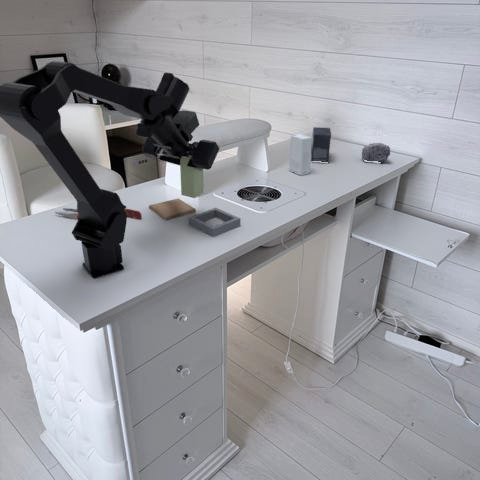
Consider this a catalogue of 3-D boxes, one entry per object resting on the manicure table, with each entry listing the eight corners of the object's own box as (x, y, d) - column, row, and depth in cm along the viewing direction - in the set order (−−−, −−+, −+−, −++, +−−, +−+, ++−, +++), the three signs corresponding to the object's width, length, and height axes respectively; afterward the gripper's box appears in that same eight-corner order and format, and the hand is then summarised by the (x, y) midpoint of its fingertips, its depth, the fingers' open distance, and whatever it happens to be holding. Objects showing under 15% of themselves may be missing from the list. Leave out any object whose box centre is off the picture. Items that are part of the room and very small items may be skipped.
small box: (310, 154, 165) (312, 126, 160) (327, 155, 164) (330, 127, 160) (310, 162, 156) (313, 133, 151) (328, 164, 155) (332, 134, 150)
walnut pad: (165, 219, 110) (165, 217, 110) (149, 208, 117) (148, 205, 116) (195, 211, 115) (195, 209, 115) (178, 201, 122) (178, 198, 121)
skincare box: (310, 173, 145) (313, 137, 139) (299, 176, 143) (303, 139, 137) (297, 168, 149) (300, 133, 144) (287, 171, 147) (290, 135, 142)
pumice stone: (364, 162, 166) (356, 161, 158) (369, 141, 164) (361, 139, 156) (392, 166, 161) (385, 165, 152) (397, 145, 159) (390, 143, 151)
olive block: (194, 198, 108) (193, 158, 103) (181, 194, 110) (179, 155, 105) (203, 193, 111) (203, 154, 106) (190, 190, 113) (189, 152, 108)
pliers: (75, 206, 118) (73, 197, 116) (144, 219, 112) (143, 209, 110) (43, 224, 108) (41, 214, 106) (117, 239, 102) (115, 229, 100)
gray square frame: (213, 236, 103) (213, 229, 102) (188, 224, 108) (188, 217, 107) (240, 225, 108) (240, 218, 108) (215, 214, 114) (215, 207, 113)
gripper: (214, 105, 93) (239, 145, 106) (146, 95, 101) (177, 134, 114) (194, 150, 90) (222, 185, 104) (125, 137, 98) (160, 171, 112)
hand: (195, 167), depth 108 cm, fingers closed on olive block, 4 cm apart
